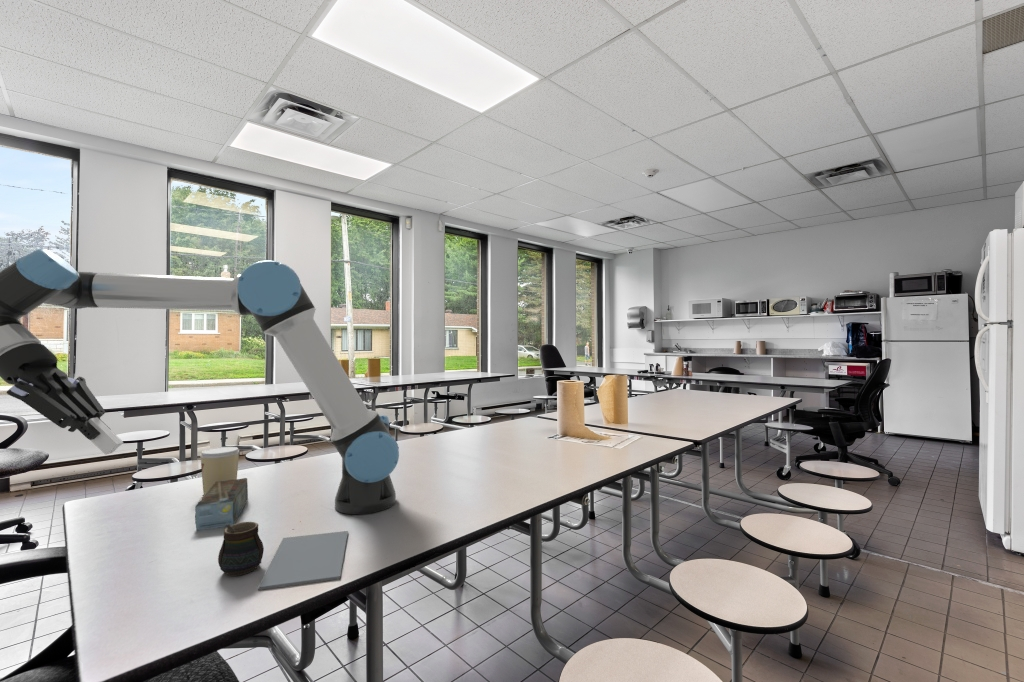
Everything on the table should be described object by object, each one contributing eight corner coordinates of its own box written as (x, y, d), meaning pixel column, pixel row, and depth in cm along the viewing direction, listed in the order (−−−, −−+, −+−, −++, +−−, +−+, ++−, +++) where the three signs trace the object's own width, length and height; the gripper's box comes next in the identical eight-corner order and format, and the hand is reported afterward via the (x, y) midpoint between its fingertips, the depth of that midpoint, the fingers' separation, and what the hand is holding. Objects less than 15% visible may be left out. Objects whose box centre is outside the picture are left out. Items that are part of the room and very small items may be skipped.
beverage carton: (193, 532, 102) (193, 502, 102) (214, 504, 119) (214, 479, 119) (234, 526, 104) (234, 498, 104) (248, 500, 122) (248, 476, 122)
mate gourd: (270, 559, 88) (270, 508, 88) (253, 580, 80) (253, 523, 80) (230, 562, 87) (230, 510, 87) (209, 582, 79) (209, 525, 80)
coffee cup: (212, 487, 132) (212, 446, 133) (245, 486, 133) (245, 446, 133) (192, 498, 123) (192, 454, 123) (228, 497, 124) (228, 453, 124)
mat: (347, 533, 100) (347, 530, 100) (339, 578, 80) (339, 576, 80) (283, 540, 96) (283, 537, 96) (258, 590, 77) (258, 587, 77)
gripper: (36, 368, 87) (126, 454, 88) (-41, 372, 74) (66, 473, 75) (67, 341, 88) (155, 427, 89) (-5, 340, 75) (100, 441, 76)
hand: (114, 448), depth 82 cm, fingers closed
